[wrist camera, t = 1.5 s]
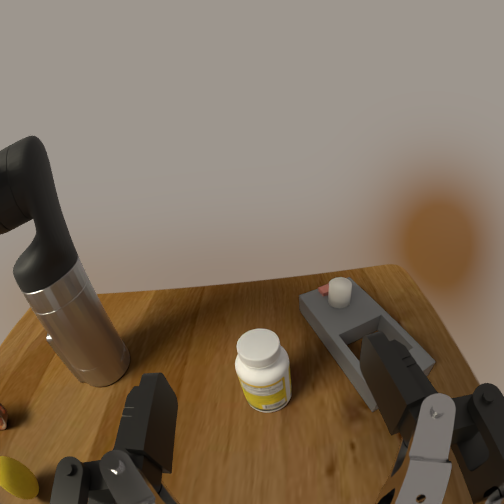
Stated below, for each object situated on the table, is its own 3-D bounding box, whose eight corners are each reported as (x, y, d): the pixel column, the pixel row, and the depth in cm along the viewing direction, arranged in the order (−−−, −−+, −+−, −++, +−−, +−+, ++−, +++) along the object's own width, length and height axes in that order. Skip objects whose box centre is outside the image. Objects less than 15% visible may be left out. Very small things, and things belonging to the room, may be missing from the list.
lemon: (29, 467, 16) (-11, 439, 12) (54, 482, 16) (9, 456, 12) (21, 495, 11) (-22, 470, 7) (46, 513, 11) (-2, 491, 7)
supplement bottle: (261, 370, 32) (250, 316, 27) (299, 385, 29) (298, 332, 24) (236, 402, 28) (217, 352, 23) (276, 421, 25) (269, 375, 21)
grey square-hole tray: (372, 412, 24) (385, 385, 21) (299, 310, 41) (298, 278, 38) (427, 375, 26) (444, 345, 23) (348, 291, 43) (350, 261, 40)
